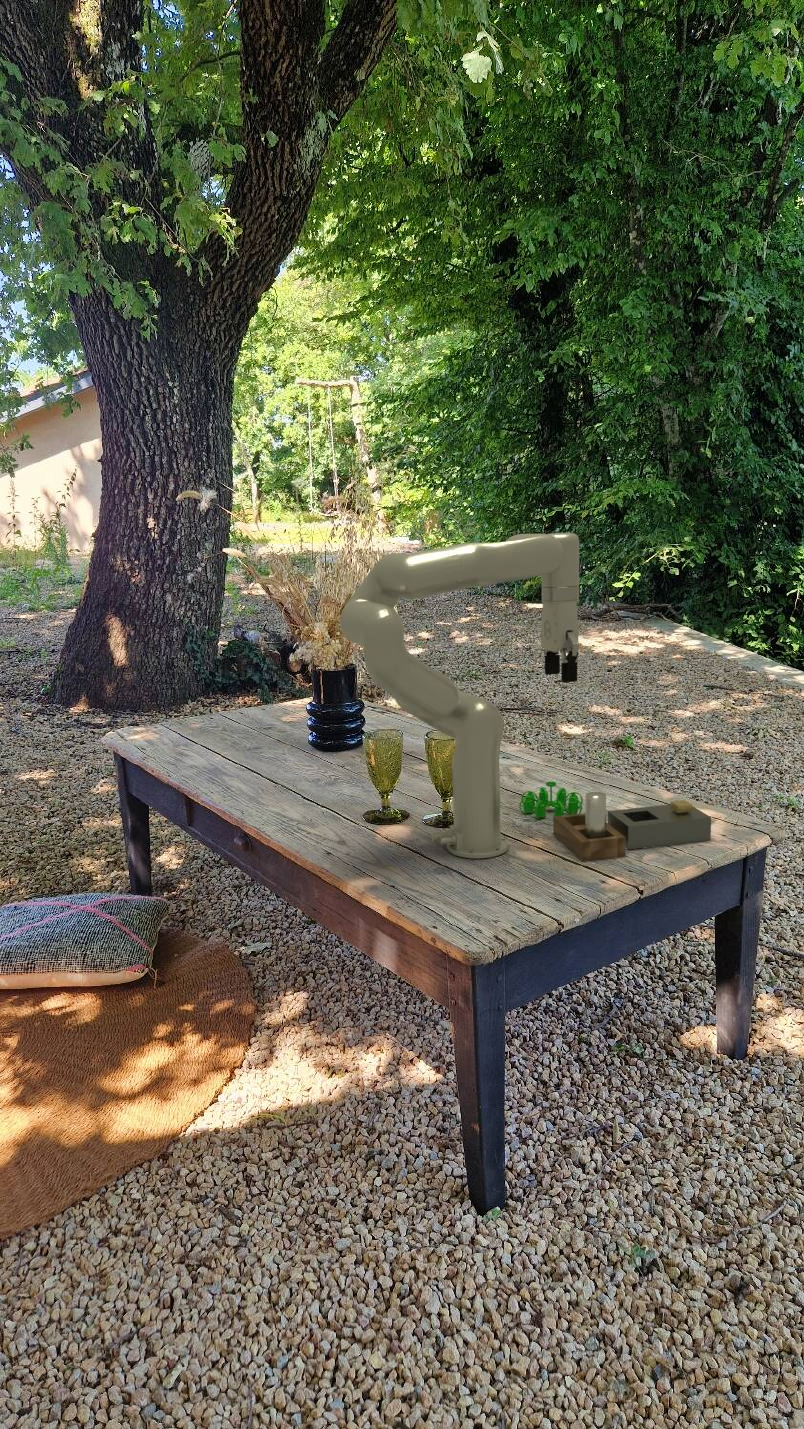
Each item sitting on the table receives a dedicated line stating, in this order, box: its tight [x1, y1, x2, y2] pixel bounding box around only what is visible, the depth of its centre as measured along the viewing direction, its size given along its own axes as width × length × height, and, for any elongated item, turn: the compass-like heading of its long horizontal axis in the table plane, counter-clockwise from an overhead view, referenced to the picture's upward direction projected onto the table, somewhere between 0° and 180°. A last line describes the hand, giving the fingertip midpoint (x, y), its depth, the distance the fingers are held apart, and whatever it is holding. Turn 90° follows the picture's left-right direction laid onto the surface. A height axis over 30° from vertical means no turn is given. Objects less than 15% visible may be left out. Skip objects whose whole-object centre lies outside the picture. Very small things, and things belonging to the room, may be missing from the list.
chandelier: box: [518, 781, 584, 820], centre depth 206 cm, size 15×15×7 cm
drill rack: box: [552, 812, 626, 863], centre depth 185 cm, size 9×16×4 cm, turn 11°
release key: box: [669, 799, 693, 814], centre depth 188 cm, size 3×3×6 cm
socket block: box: [607, 804, 712, 851], centre depth 188 cm, size 18×10×5 cm, turn 101°
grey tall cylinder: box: [584, 791, 607, 839], centre depth 180 cm, size 4×4×12 cm
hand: (560, 677), depth 187 cm, fingers open, 9 cm apart
